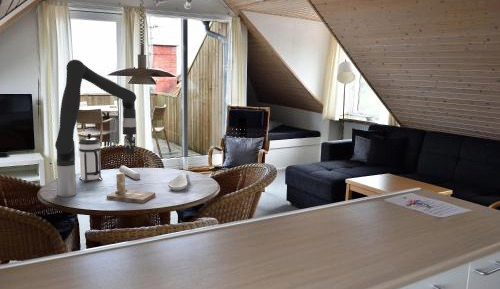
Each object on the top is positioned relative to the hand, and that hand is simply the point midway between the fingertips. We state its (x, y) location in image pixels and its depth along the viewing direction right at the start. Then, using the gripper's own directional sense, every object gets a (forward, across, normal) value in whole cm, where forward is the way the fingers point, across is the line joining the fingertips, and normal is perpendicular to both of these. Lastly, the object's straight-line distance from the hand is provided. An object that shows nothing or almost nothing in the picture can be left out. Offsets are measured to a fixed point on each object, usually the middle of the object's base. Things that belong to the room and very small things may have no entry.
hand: (129, 154), depth 238 cm
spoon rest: (+22, +1, +31) cm, 38 cm away
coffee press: (+19, -37, -14) cm, 44 cm away
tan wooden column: (+21, +4, -6) cm, 22 cm away
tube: (+19, -39, +11) cm, 44 cm away
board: (+23, +10, -2) cm, 25 cm away
